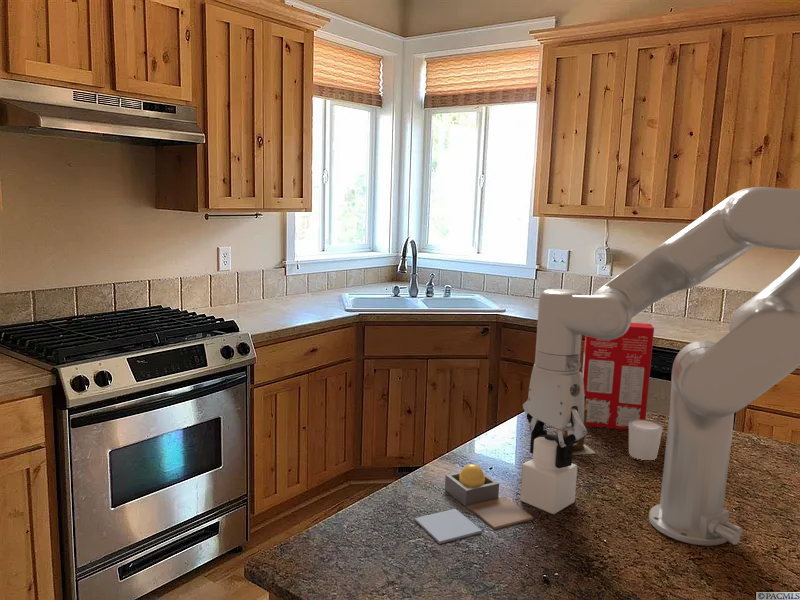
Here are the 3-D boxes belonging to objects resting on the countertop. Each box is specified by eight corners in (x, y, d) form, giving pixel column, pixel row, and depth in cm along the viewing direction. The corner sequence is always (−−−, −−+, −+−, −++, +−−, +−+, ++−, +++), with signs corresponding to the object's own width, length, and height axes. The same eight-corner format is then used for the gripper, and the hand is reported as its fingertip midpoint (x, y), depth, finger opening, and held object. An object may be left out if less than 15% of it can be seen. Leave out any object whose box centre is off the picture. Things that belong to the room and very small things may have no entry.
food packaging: (641, 424, 157) (650, 323, 153) (644, 431, 152) (654, 328, 148) (578, 417, 160) (586, 319, 156) (579, 425, 155) (587, 323, 151)
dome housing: (498, 498, 116) (499, 483, 115) (465, 506, 112) (466, 490, 112) (476, 483, 122) (477, 468, 121) (444, 490, 119) (445, 474, 118)
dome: (489, 494, 116) (490, 467, 115) (467, 499, 114) (469, 471, 113) (474, 483, 120) (476, 458, 119) (453, 488, 118) (455, 462, 117)
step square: (533, 519, 109) (533, 517, 109) (494, 529, 105) (494, 527, 105) (504, 499, 116) (504, 497, 116) (467, 507, 112) (467, 505, 112)
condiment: (576, 439, 146) (580, 388, 144) (595, 454, 138) (600, 400, 136) (547, 440, 144) (550, 389, 142) (564, 455, 136) (568, 401, 134)
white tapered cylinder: (632, 446, 142) (635, 416, 141) (664, 455, 138) (667, 424, 137) (620, 455, 137) (623, 424, 136) (653, 465, 133) (656, 432, 132)
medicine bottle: (541, 489, 120) (545, 427, 118) (575, 502, 115) (580, 438, 113) (519, 500, 115) (523, 437, 113) (553, 515, 110) (558, 449, 108)
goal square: (481, 532, 104) (481, 530, 104) (439, 543, 100) (439, 541, 100) (455, 510, 111) (455, 508, 111) (414, 520, 107) (414, 518, 107)
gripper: (610, 371, 105) (601, 474, 108) (541, 347, 120) (535, 439, 123) (575, 375, 102) (567, 482, 105) (509, 351, 117) (503, 445, 120)
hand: (550, 458), depth 114 cm, fingers closed on medicine bottle, 6 cm apart
